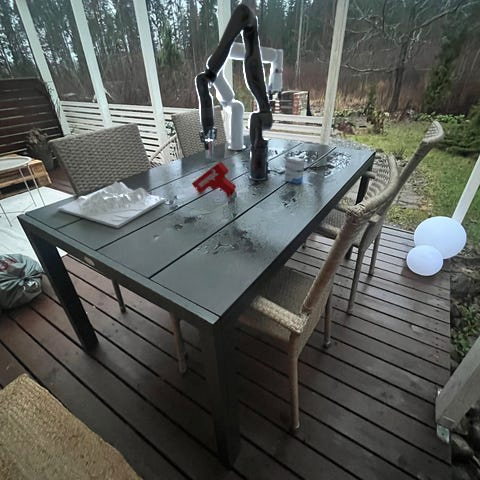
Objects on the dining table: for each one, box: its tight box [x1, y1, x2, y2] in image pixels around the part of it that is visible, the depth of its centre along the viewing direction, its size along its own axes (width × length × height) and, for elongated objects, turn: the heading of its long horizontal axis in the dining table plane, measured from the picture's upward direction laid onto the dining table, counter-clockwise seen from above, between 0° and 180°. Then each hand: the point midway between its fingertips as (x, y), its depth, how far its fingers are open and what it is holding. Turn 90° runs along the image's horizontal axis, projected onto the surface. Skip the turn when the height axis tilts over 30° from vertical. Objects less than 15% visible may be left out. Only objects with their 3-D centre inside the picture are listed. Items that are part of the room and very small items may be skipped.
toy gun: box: [191, 161, 237, 197], centre depth 128 cm, size 18×4×15 cm
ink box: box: [284, 156, 306, 185], centre depth 140 cm, size 8×5×12 cm, turn 47°
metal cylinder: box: [205, 138, 215, 160], centre depth 155 cm, size 5×5×10 cm
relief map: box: [57, 180, 166, 229], centre depth 118 cm, size 27×35×5 cm
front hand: (209, 148), depth 155 cm, fingers closed on metal cylinder, 4 cm apart
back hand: (274, 99), depth 195 cm, fingers open, 9 cm apart
